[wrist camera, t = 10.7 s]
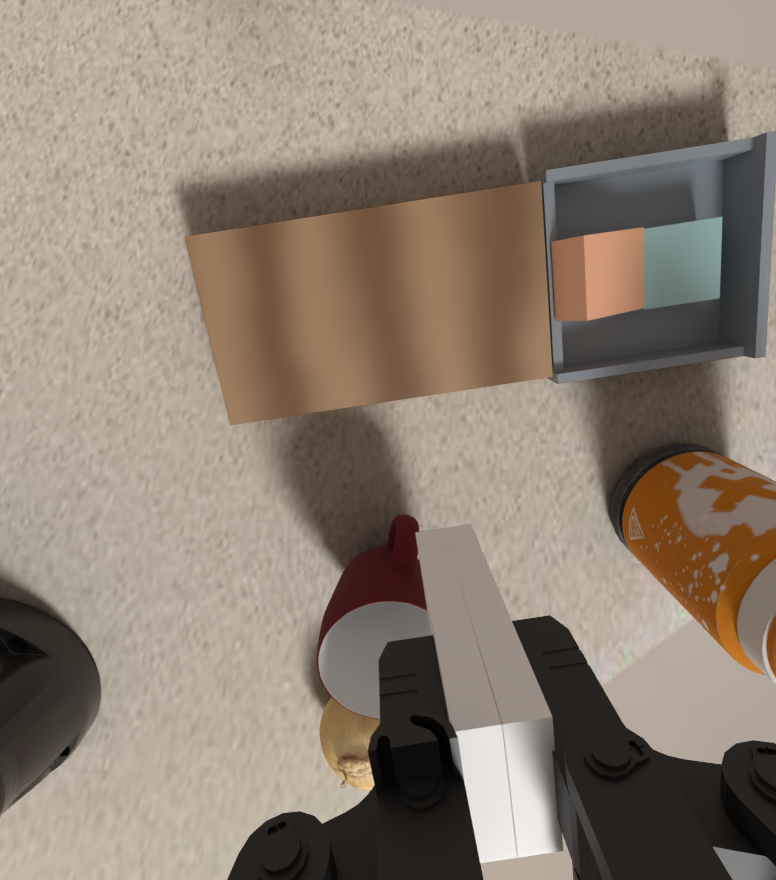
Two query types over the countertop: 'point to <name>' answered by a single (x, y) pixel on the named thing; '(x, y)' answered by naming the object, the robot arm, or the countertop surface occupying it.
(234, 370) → the tan wooden flat box
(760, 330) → the box
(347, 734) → the onion
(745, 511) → the canister
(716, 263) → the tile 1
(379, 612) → the mug
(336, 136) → the countertop surface
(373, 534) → the countertop surface
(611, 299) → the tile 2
